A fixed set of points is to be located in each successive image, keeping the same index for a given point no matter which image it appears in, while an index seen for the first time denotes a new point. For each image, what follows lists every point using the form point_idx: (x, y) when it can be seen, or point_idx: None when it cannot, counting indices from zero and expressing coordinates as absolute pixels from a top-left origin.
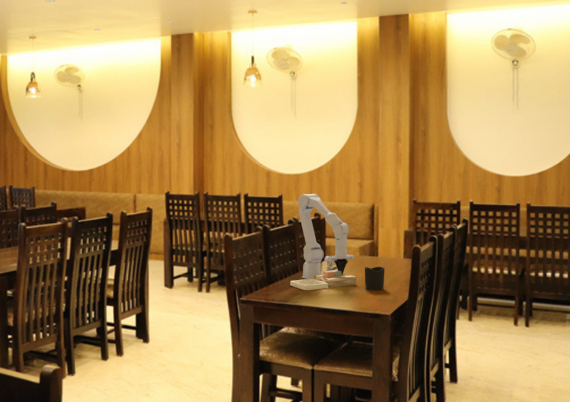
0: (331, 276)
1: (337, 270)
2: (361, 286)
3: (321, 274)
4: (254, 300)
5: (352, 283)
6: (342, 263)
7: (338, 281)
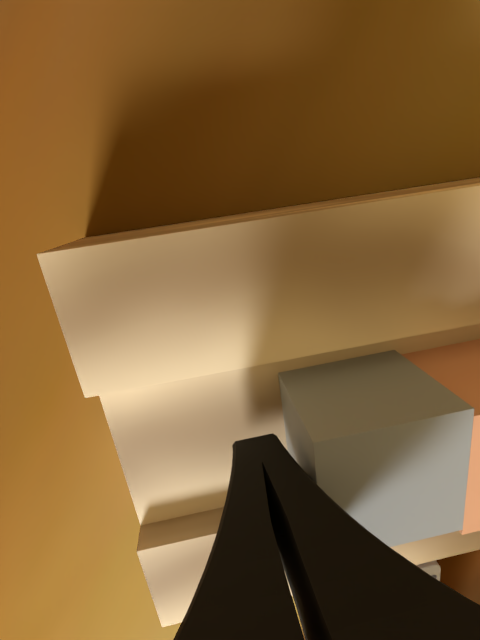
0: (470, 362)
1: None
2: (48, 81)
3: (456, 548)
4: None
5: (148, 229)
6: (376, 635)
7: (420, 190)
